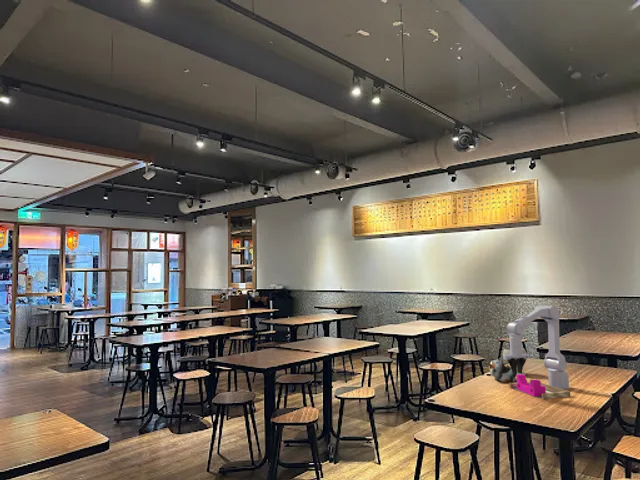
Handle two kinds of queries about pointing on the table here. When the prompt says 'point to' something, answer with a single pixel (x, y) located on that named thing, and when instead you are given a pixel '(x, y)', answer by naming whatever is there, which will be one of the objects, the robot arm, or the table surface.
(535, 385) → the toy block
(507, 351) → the chalice
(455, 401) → the table surface
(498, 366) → the grey plush toy
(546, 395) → the wooden board
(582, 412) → the table surface
